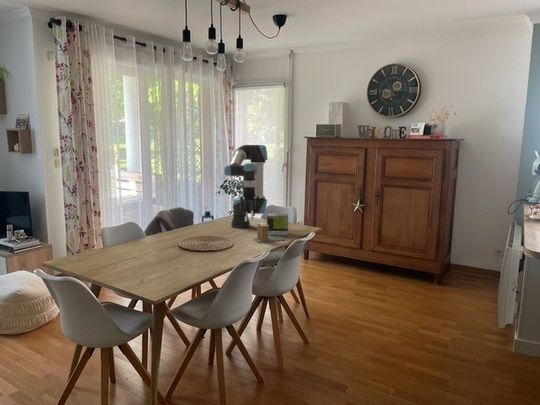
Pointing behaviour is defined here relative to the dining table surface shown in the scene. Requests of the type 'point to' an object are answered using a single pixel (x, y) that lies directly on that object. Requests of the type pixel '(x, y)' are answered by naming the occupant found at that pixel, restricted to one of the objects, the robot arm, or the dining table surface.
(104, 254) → the dining table surface
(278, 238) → the slate mat
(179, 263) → the dining table surface
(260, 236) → the tan upright block
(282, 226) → the tea box
